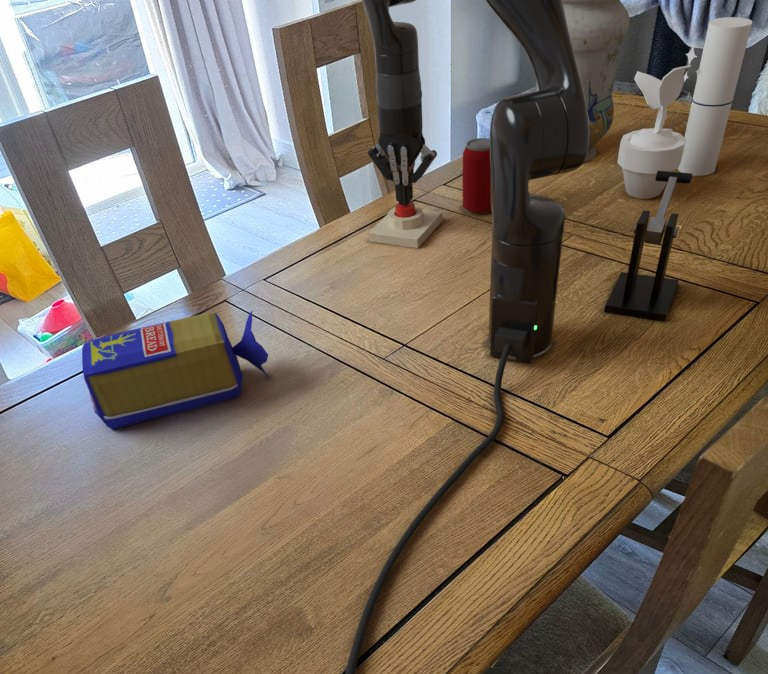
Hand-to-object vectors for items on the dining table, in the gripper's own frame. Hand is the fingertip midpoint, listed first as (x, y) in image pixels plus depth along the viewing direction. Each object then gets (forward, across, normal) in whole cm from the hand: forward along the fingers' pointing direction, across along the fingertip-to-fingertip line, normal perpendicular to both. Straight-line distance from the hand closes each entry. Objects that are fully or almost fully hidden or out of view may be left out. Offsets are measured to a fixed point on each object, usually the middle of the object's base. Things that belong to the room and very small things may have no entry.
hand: (404, 203), depth 129 cm
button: (+2, 0, 0) cm, 2 cm away
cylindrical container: (+5, +46, +42) cm, 62 cm away
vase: (+5, +19, +44) cm, 48 cm away
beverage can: (+5, +10, +13) cm, 17 cm away
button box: (+5, 0, 0) cm, 5 cm away
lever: (-7, +46, -7) cm, 47 cm away
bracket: (+5, +46, -12) cm, 48 cm away
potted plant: (+5, +38, +28) cm, 47 cm away
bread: (+5, -9, -58) cm, 59 cm away
